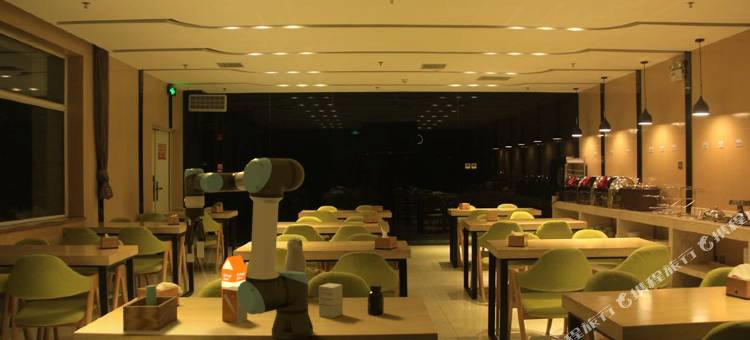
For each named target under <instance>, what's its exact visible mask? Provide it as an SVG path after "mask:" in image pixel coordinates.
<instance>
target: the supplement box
mask: <svg viewBox="0 0 750 340" xmlns="http://www.w3.org/2000/svg"><path fill="white" fill-rule="evenodd" d="M343 301H344V299H343V284H339V283H331V282H328V283H325V284H322V285H318V316H319V317H322V318H323V317H324V318H329V319H334V318H336V317H339V316H342V315H343V314H344V313H343V312H344V310H343V309H344V308H343V307H344V305H343Z"/></svg>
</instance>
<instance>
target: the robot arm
mask: <svg viewBox="0 0 750 340" xmlns="http://www.w3.org/2000/svg"><path fill="white" fill-rule="evenodd" d="M304 170H305V169H304V167H303V166H302V164H300V162H298V161H297V160H295V159H292V158H271V157H270V158H269V157H261V158H254V159H252V160H250V161H249V162H248V164H246V166H245V167H244V170H243V171H241V172H240V171H239V172H207V173H206V172H204V169H202V168H187V169H185V170H184V178H183V182H184V199H183V201H184V206H185V209H184V216H185V218H189V219H187V220H186V229H185V233H184V234H185V235H184V242H183V245H184V246H185V247H186V252H185V253H186V263H194V262H195V245H194V241H195V236H196V240H197V241H196V258H205V242H206V241H207V238H206V233H205V227H204V218H203V217H205V215H206V214H205V207H204V206H205V193H222V192H223V193H224V192H248V195H249V196H248V197H249V198H250V199H251V200H252V202H253V204H252V205H253V207H252V225H251V227H252V228H251V229H252V230H251V243H250V244H251V246H250V248H251V250H250V269H249V270H248V271H247V273H246V277H245V281H244V282H242V283H241V284H240V286H239V287H238V299H239V302H240V305H241V306H242V308H243V309H244V310H245V311H246V312H247V314H249V315H259V314H260V315H261V314H264V313H269V312H272V311H276V314H275V317H274V321H273V324H272V327H271V336H272V337H273V338H274V339H278V340H302V339H305V338H309V337H311V336H313V334H314V326H313V323H312V321H311V320H312V319H311V317H310V313H309V278H308V274H307V273H306V274H305V273H303V272H296V271H285V270H276V258H277V240H278V220H279V202H280V201H282V199H284V192H291V191H295V190H297V189H298V188H299V187H301V185H302V184H303V183H304V180H305V171H304Z"/></svg>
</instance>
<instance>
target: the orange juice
mask: <svg viewBox="0 0 750 340" xmlns="http://www.w3.org/2000/svg"><path fill="white" fill-rule="evenodd" d="M247 268H248V267H247V266H246V264H245V262H244V260H243V257H242V255H241V254H238V255H236V256H235V255H233V256H229V257H227V258H226V260H225V261H224V263H223V266H222V267H221V290H222V289H223V288H227V287H231V286H235V287H239V286H240V284H241V283H242V282H244V281H245V277H246V273H247V272H248V271H247Z"/></svg>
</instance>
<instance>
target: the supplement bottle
mask: <svg viewBox="0 0 750 340" xmlns="http://www.w3.org/2000/svg"><path fill="white" fill-rule="evenodd" d="M382 289H383V287H382V284H378V283H375V284H374V283H372V284H370V285H369V290H370V291H368V292H367V314H368V315H369V316H382V315H383V314H384V312H385V294H384V292H383V290H382Z"/></svg>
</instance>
